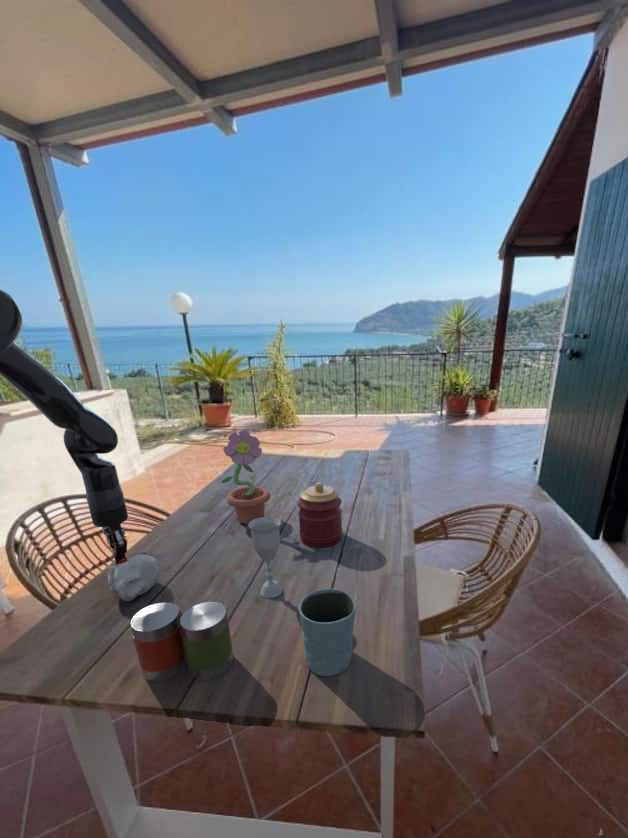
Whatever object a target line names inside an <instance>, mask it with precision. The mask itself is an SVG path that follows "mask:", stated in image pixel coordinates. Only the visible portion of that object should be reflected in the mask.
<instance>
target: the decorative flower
mask: <svg viewBox="0 0 628 838" xmlns="http://www.w3.org/2000/svg"><path fill="white" fill-rule="evenodd" d="M227 439H228V443H227V445H226V446H224V447H223V448H222V450H223V452H224V454H225V456H227V457H229V458H230V459H231V462H232V463H233V464H236V466H235V468H234V470H233V474H232V475H231V476H230V475H229V476H226V477H224V478H223V479H222V480H221V482H220V484H226V483H229V482H231V481H232V482H233V483H234V484H235V485H237V486H243V487H238V488H235V489H233V490H232V491H230V492H229V493H228V494H227V495H226V503H227V504H228V505H229V506H231V507H234V510H235V514H236V518H237V519H236V520H238V522H239V523H241V524H243V523H244V524H243V525H248V524H249V522H250V521H252V520H254V519H257V518H261V517H265V503H268V501H269V500H270V499H271V493H270V491H269V490H268V489H267V488H265V487H263V486H256V485H255V483H254V482H253V481H254V480H255V477H256V475H253V476H252V475H251V477H250V479H240V478H239V476H240V473H241V470H242V468H244V469H245V470H246V471H247V472H249V473H254V470H253V469H252V468H251V466H250V465H251V464H254V463H255V462H256V461H255V460H256V459H257V458H260V457H261V456H262V453H263V449H262V448H261V447H260V445H261V443H260V441H259V438H258V437H256V436H253V435H251V432H250V431H248V430H239V431H238V433H237V432H232V433H231V434H230V435H229V436H228V438H227Z"/></svg>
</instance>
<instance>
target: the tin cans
mask: <svg viewBox="0 0 628 838" xmlns="http://www.w3.org/2000/svg"><path fill="white" fill-rule="evenodd" d="M179 609H180V608H179V607H178V606H177V605H176V604H175V603H173V602H158V603H153V604H150V605H147V606H145V607H143V608H142V609H140V610H139V611H137V612H136V613H135V614H134V615H133V617H131V620H130V628H131V632H132V639H133V643H134V647H135V651H136V655H137V659H138V662H139V666H140V668H141V673H142V676H143V678H144V679H145V680H147V681H148V682H152V683H153V682H154V683H158V682H159V683H160V682H165V681H168V680H170V679H172V678H174V677H176V676H177V675H179V674H180V673H181V672H182V671H183V670H184V669H185V668H186V666H187V665H188V670H189V674H190V676H191V677H192V678H193V679H195V680H197V681H201V682H205V681H212V680H216V679H218V678H219V677H221V676H222V675H224V674H226V673H227V672H228V671H229V669H230V668H231V667H232V665H233V662H234V656H233V655H234V654H233V645H232V639H231V633H230V632H231V631H230V624H229V619H228V614H227V609H226V606H225V605H224V604H223V603H220V602H217V601H204V602H200V603H197V604H195V605H192V606H191V607H189V608H187V609H186V610H185V611H184V612H183V613H182V614H180V610H179Z"/></svg>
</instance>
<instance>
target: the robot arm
mask: <svg viewBox="0 0 628 838" xmlns="http://www.w3.org/2000/svg"><path fill="white" fill-rule="evenodd" d="M22 325H23V315H22V311H21V308H20V306H19V304H18V303H17V301H16V300H15V299H14V297H12V296H11V295H10V294H9V293H7V292H6V291H4V290H3V289H0V376H1V377H3V378H4V379H5V380H6V381H8V382H9V384H11V385H12V386H13V387H14V388H15V389H16V390H17V391H18V392H19V393H20V394H22V395H23V396H24V397H25V398H26V399H27V400H28V401H29V402H30V403H31V404H32V405H33V406H34V407H35V408H36V409H37V410H38V411H39V412H40V413H41V414H42V415H43V416H44V417H45V418H46V419H47V420H48V421H49V422H50V423H52V424H53V426H55V427H57V428H59V429H64V432H63V443H64V446H65V449H66V451H67V453H68V454H69V456H70V458H71V459H72V462H73V463H74V465H75V466H76V467H77V470H78V471H79V472H80V474H81V477H82V481H83V486H84V489H85V497H86V503H87V507H88V510H89V514H90V518H91V522H92V524H93V526H95V527H97V528H102V533H103V535H104V536H105V539H106V544H107V545H108V547H109V549H111V551H110V552H111V553H112V554H113V557H114V561H115V566H116V565H117V564H118V562H119V561H121V559H122V558H127V556H126V553H128V540H127V538H126V536H125V534H126V532H125V528H124V527H122V525H121V524H122V523H124V522H126V521H127V520H128V518H129V514H128V510H127V505H126V500H125V496H124V492H123V489H122V487H121V483H120V479H119V475H118V470H117V467H116V465H115V463H113V462H112V461H109V460H107V459H102V457H100V456H99V455H102V454H109V453H111V452H114V450H116V448H117V446H118V445H119V437H118V433H117V431H116V430H115V428H114V427H113V426H112V424H111V423H110V422H108V420H106V419H105V418H103V417H102V416H100V415H99V414H97V413H96V412H95V411H94V410H92V409H91V408H89V407H87V406H86V405H84V403H83V402H82V401H81V400H80V399H79V397H78V396H77V395H76V393H74V392H73V390H71V388H70V387H69V386H68V385H67V384H66V382H64V381H63V380H62V379H61V378H59V377H58V376H57V375H56V374H55V373H53V372H52V371H51V370H49V368H46V367H45V366H44V365H43V364H41V363H40V362H39V361H37V360H36V359H35V358H33V357H32V356H31V355H29V354H28V353H27V352H26V351H25V350H24V349H22V348H21V346H19V345H18V343H16V342H15V341H16V339H17V338H18V336H19V334H20V332H21V330H22Z"/></svg>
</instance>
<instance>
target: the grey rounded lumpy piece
mask: <svg viewBox="0 0 628 838" xmlns="http://www.w3.org/2000/svg"><path fill="white" fill-rule="evenodd" d="M146 553H147V552H141V553H138V554H136V555H134V556H130V557H126V558H122V559H121V561H119V562H118V564H117V565H116V564H115V565H112V566H110V567H109V569H108V571H107V584H108V585H109V590H110V592H112V593H113V594H115V595H116V596H117V597H120V599H121V600H122V601H124V602H132V601H133V600H135V599H136V598H137V597H138V596H142V595H143V594H145V593H147V592H148V591H149V590H150V589H151V588H153V587H154V585H155V583H156V582H157V580H158V579H159V576H160V568H159V564H158V561H157V558H155V557H153V556H151V555H147V554H146Z"/></svg>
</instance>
